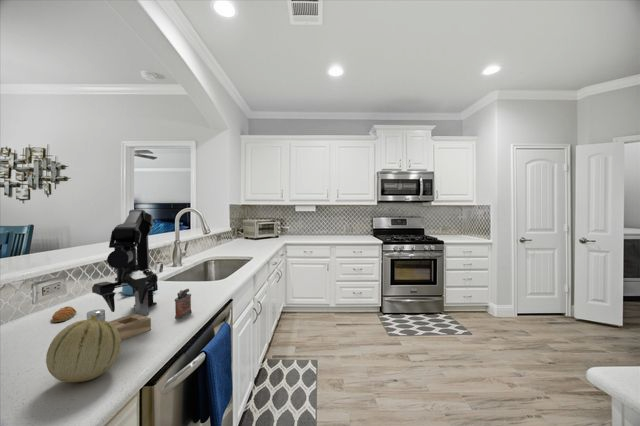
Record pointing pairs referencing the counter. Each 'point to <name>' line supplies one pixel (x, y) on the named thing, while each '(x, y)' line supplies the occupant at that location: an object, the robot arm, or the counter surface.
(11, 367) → the counter surface
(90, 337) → the cantaloupe
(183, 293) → the lighter
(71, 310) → the pastry
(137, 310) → the square bit
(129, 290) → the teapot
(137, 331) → the socket block
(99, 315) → the cylinder
